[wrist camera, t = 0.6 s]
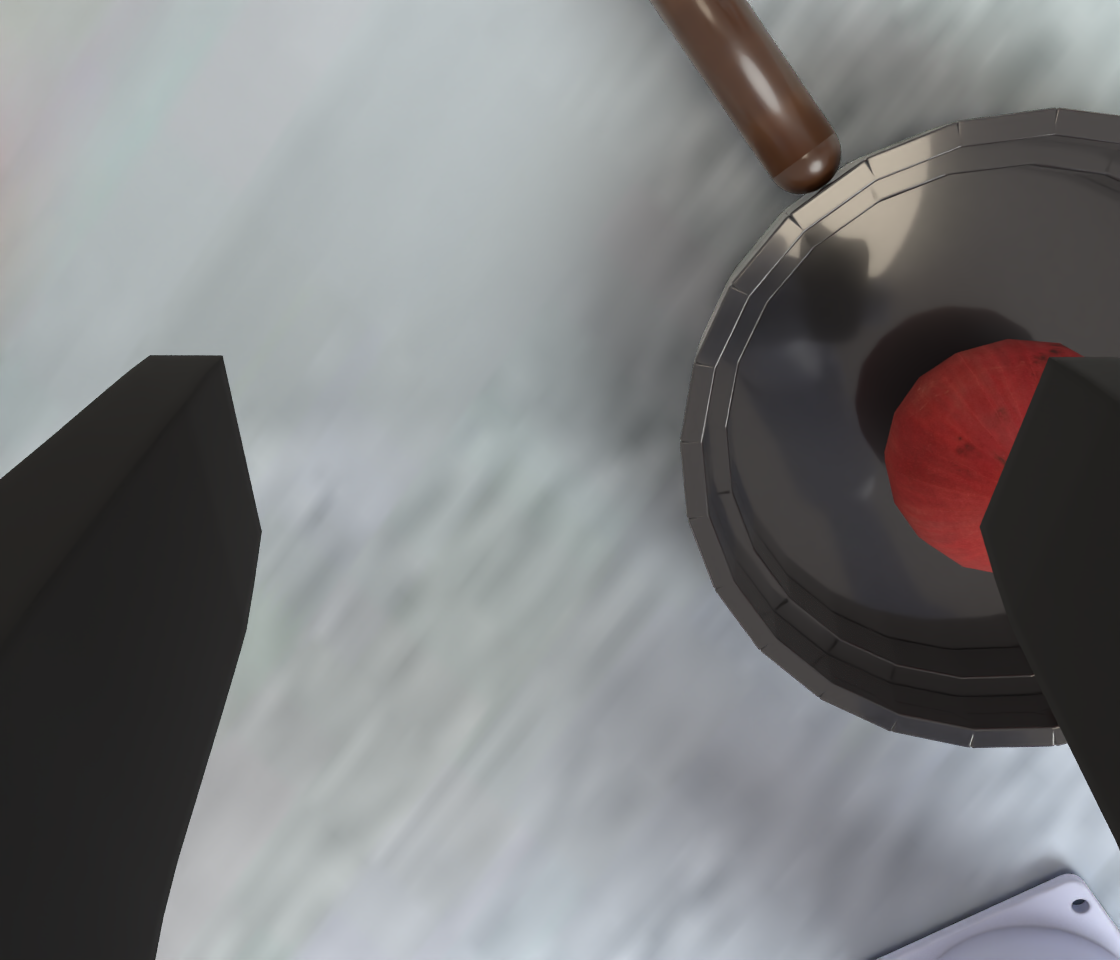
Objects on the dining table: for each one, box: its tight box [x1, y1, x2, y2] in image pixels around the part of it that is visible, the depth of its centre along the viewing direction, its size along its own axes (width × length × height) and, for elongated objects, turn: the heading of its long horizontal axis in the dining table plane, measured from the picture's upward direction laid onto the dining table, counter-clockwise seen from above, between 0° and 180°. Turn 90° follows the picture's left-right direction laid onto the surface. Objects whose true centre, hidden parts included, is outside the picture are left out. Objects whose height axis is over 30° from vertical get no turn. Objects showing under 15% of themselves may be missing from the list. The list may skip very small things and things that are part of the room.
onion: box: [884, 339, 1084, 573], centre depth 25 cm, size 6×6×8 cm
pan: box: [680, 108, 1120, 748], centre depth 27 cm, size 16×16×4 cm
